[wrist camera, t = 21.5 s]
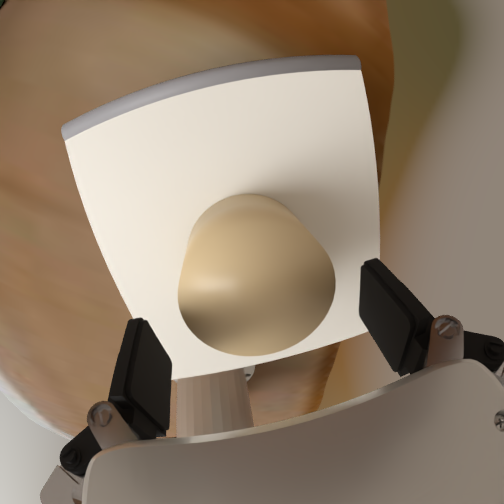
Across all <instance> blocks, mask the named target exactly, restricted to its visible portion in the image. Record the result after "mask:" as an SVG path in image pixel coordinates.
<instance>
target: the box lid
mask: <svg viewBox="0 0 504 504" xmlns="http://www.w3.org/2000/svg"><path fill="white" fill-rule="evenodd" d="M62 136H63V139H64V140H65V144H66V148H67V152H68V156H69V159H70V163H71V167H72V170H73V174H74V177H75V180H76V184H77V187H78V190H79V193H80V196H81V199H82V202H83V205H84V208H85V211H86V214H87V216H88V219H89V222H90V224H91V227H92V230H93V232H94V235H95V237H96V240H97V242H98V245H99V247H100V250H101V252H102V254H103V257H104V259H105V261H106V264H107V266H108V268H109V270H110V272H111V275H112V277H113V279H114V281H115V283H116V285H117V287H118V289H119V291H120V293H121V295H122V297H123V299H124V301H125V303H126V305H127V307H128V309H129V311H130V313H131V315H132V317H133V318H134V319H135V318H140V317H141V318H143V319H144V320H147V321H148V322H149V324H150V326H151V328H152V329H153V331H154V333H155V334H156V336H157V338H158V339H159V341H160V343H161V344H162V346H163V348H164V349H165V351H166V352H167V354H168V355H169V357H170V359H171V361H172V378H171V380H173V379H180V378H187V377H194V376H200V375H206V374H212V373H217V372H223V371H228V370H233V369H238V368H242V367H247V366H252V365H256V364H260V363H265V362H269V361H273V360H277V359H281V358H285V357H289V356H292V355H296V354H300V353H303V352H307V351H310V350H314V349H317V348H320V347H323V346H327V345H330V344H333V343H336V342H339V341H342V340H345V339H348V338H351V337H354V336H357V335H360V334H363V333H365V332H368V329H367V328H366V326H365V325H364V323H363V322H362V320H361V318H360V316H359V296H360V272H361V266H362V265H364V262H365V261H367V260H370V259H374V258H378V259H379V260H380V217H379V194H378V179H377V167H376V157H375V148H374V140H373V133H372V126H371V119H370V113H369V107H368V102H367V97H366V91H365V87H364V82H363V77H362V73H361V63H360V60H359V58H358V57H357V56H355V55H313V56H296V57H284V58H274V59H266V60H258V61H252V62H245V63H239V64H234V65H228V66H223V67H219V68H214V69H209V70H205V71H201V72H197V73H193V74H189V75H186V76H182V77H178V78H175V79H172V80H168V81H165V82H162V83H159V84H156V85H153V86H150V87H147V88H144V89H141V90H139V91H136V92H133V93H131V94H128V95H126V96H123V97H121V98H118V99H116V100H113V101H111V102H109V103H106V104H104V105H102V106H100V107H98V108H95V109H93V110H91V111H89V112H87V113H85V114H83V115H81V116H79V117H77V118H75V119H73V120H71V121H69V122H67V123H66V124H64V125H63V126H62ZM240 194H257V195H262V196H267V197H269V198H272V199H275V200H276V201H278V202H280V203H282V204H283V205H284V206H286V207H287V208H288V209H289V210H290V211H291V212H292V213H293V214H294V215H295V216H296V217H297V218H298V220H299V221H300V222H301V223H302V224H303V225H304V226H305V227H306V229H307V230H308V231H309V232H310V233H311V234H312V235H313V236H314V238H315V239H316V240H317V241H318V242H319V243H320V245H321V246H322V247H323V248H324V250H325V251H326V252H327V254H328V255H329V258H330V260H331V262H332V264H333V268H334V271H335V278H336V289H335V295H334V299H333V302H332V305H331V307H330V309H329V312H328V313H327V315H326V317H325V318H324V320H323V321H322V322H321V324H320V325H319V326H318V327H317V328H316V329H315V330H314V331H313V332H312V333H311V334H310V335H309V336H308V337H306V338H305V339H304V340H302V341H301V342H299V343H297V344H296V345H294V346H292V347H290V348H287V349H285V350H283V351H280V352H276V353H273V354H268V355H263V356H237V355H232V354H227V353H224V352H221V351H218V350H216V349H214V348H212V347H210V346H208V345H206V344H205V343H203V342H202V341H201V340H199V339H198V338H197V337H196V336H195V335H194V334H193V333H192V332H191V331H190V329H189V328H188V327H187V325H186V324H185V322H184V320H183V318H182V315H181V313H180V310H179V305H178V285H179V279H180V275H181V270H182V266H183V261H184V257H185V252H186V248H187V244H188V240H189V236H190V233H191V230H192V228H193V226H194V224H195V223H196V221H197V220H198V218H199V217H200V216H201V215H202V214H203V213H204V212H205V211H206V210H207V209H208V208H209V207H210V206H212V205H214V204H215V203H217V202H218V201H221V200H223V199H225V198H228V197H231V196H235V195H240Z"/></svg>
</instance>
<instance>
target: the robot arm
mask: <svg viewBox="0 0 504 504" xmlns="http://www.w3.org/2000/svg"><path fill="white" fill-rule="evenodd" d="M359 316H360V318H361V320H362V322H363V323H364V325H365V326H366V328H367V329H368V331H369V333H370V334H371V336H372V337H373V339H374V340H375V342H376V343H377V345H378V347H379V348H380V350H381V352H382V353H383V355H384V357H385V358H386V360H387V361H388V363H389V365H390V366H391V368H392V370H393V371H394V372H398V374H399V375H400V377H401V376H403V375H406V374H408V373H410V375H409V376H407V377H404V378H402V379H400V380H398V381H396V382H394V383H391V384H389V385H387V386H384V387H382V388H379V389H377V390H374V391H372V392H370V393H367V394H365V395H362V396H359V397H357V398H354V399H351V400H349V401H346V402H343V403H340V404H338V405H334V406H331V407H328V408H325V409H322V410H319V411H316V412H312V413H309V414H306V415H302V416H298V417H295V418H291V419H287V420H283V421H279V422H275V423H270V424H266V425H261V426H257V427H254V424H253V418H252V412H251V406H250V400H249V394H248V388H247V381H248V380H249V379H250V378H251V377H252V375H253V373H254V371H255V365H252V366H247V367H242V368H238V369H233V370H228V371H223V372H217V373H212V374H206V375H200V376H194V377H187V378H180V379H173V380H174V381H175V382H176V383H177V438H168V439H156V437H165V436H166V430H168V429H169V423H170V396H171V378H172V361H171V359H170V357H169V355H168V354H167V352H166V351H165V349H164V348H163V346H162V344H161V343H160V341H159V339H158V338H157V336H156V334H155V333H154V331H153V329H152V328H151V326H150V324H149V322H148V321H147V320H144V319H143V318H141V317H140V318H135V319H130V320H129V321H128V324H127V327H126V330H125V334H124V338H123V341H122V345H121V349H120V352H119V355H118V358H117V362H116V366H115V370H114V374H113V379H112V383H111V388H110V392H109V397H108V401H101V402H98V403H96V404H94V405H93V406H92V407H91V408H90V410H89V412H88V415H87V422H88V425H89V426H87V427H86V428H85V429H84V430H83V431H82V432H81V433H79V434H78V435H77V436H76V437H75V438H74V439H72V440H71V441H70V442H69V443H68V444H67V445H65V446H64V448H63V449H62V451H61V454H60V462H61V466H58V465H57V466H56V468H55V469H54V471H53V473H52V474H51V476H50V477H49V479H48V481H47V482H46V484H45V485H44V487H43V489H42V490H41V493H40V499H41V502H42V504H504V342H503V341H502V340H501V339H499V338H497V337H493V336H488V335H483V334H478V333H473V332H468V331H464V330H463V326H462V324H461V322H460V321H459V320H458V319H456V318H455V317H453V316H450V315H441V316H438V317H437V318H434V317H433V316H432V315H431V314H430V313H429V311H428V310H427V309H426V308H425V307H424V306H423V305H422V304H421V302H420V301H419V300H418V299H417V298H416V297H415V296H414V295H413V294H412V292H411V291H410V290H409V289H408V288H407V287H406V286H405V285H404V284H403V283H402V282H400V281H399V280H398V279H397V277H396V276H395V275H394V274H392V272H391V271H390V270H389V269H388V268H387V267H386V266H385V265H384V264H383V263H382V262H381V261H380V260H379V259H378V258H374V259H370V260H367V261H365V262H364V265H362V266H361V272H360V296H359Z"/></svg>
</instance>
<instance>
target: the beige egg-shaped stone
mask: <svg viewBox="0 0 504 504" xmlns="http://www.w3.org/2000/svg"><path fill="white" fill-rule="evenodd" d="M335 289H336V278H335V271H334V268H333V264H332V262H331V260H330V258H329V255H328V254H327V252H326V251H325V250H324V248H323V247H322V246H321V245H320V243H319V242H318V241H317V240H316V239H315V238H314V236H313V235H312V234H311V233H310V232H309V231H308V230H307V229H306V227H305V226H304V225H303V224H302V223H301V222H300V221H299V220H298V218H297V217H296V216H295V215H294V214H293V213H292V212H291V211H290V210H289V209H288V208H287V207H286V206H284V205H283V204H282V203H280V202H278V201H276V200H275V199H272V198H269V197H267V196H262V195H257V194H240V195H235V196H231V197H228V198H225V199H223V200H221V201H218V202H217V203H215V204H214V205H212V206H210V207H209V208H208V209H207V210H206V211H205V212H204V213H203V214H202V215H201V216H200V217H199V218H198V220H197V221H196V223H195V224H194V226H193V228H192V230H191V233H190V236H189V240H188V244H187V248H186V252H185V257H184V261H183V266H182V270H181V275H180V279H179V285H178V305H179V310H180V313H181V315H182V318H183V320H184V322H185V324H186V325H187V327H188V328H189V329H190V331H191V332H192V333H193V334H194V335H195V336H196V337H197V338H198V339H199V340H201V341H202V342H203V343H205V344H206V345H208V346H210V347H212V348H214V349H216V350H218V351H221V352H224V353H227V354H232V355H237V356H263V355H268V354H273V353H276V352H280V351H283V350H285V349H287V348H290V347H292V346H294V345H296V344H297V343H299V342H301V341H302V340H304V339H305V338H306V337H308V336H309V335H310V334H311V333H312V332H313V331H314V330H315V329H316V328H317V327H318V326H319V325H320V324H321V322H322V321H323V320H324V318H325V317H326V315H327V313H328V312H329V309H330V307H331V305H332V302H333V299H334V295H335Z"/></svg>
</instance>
